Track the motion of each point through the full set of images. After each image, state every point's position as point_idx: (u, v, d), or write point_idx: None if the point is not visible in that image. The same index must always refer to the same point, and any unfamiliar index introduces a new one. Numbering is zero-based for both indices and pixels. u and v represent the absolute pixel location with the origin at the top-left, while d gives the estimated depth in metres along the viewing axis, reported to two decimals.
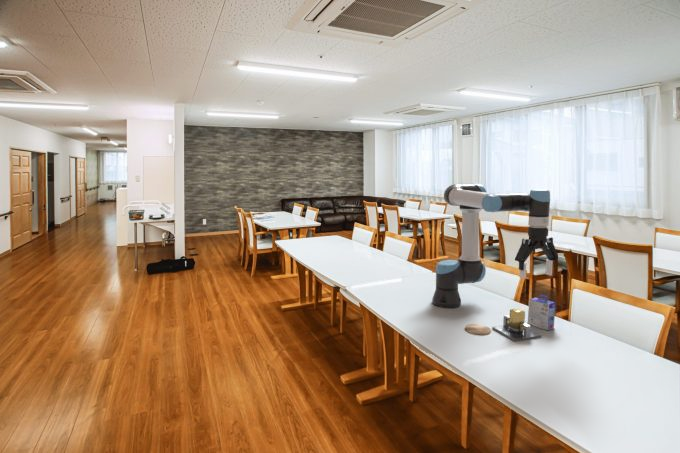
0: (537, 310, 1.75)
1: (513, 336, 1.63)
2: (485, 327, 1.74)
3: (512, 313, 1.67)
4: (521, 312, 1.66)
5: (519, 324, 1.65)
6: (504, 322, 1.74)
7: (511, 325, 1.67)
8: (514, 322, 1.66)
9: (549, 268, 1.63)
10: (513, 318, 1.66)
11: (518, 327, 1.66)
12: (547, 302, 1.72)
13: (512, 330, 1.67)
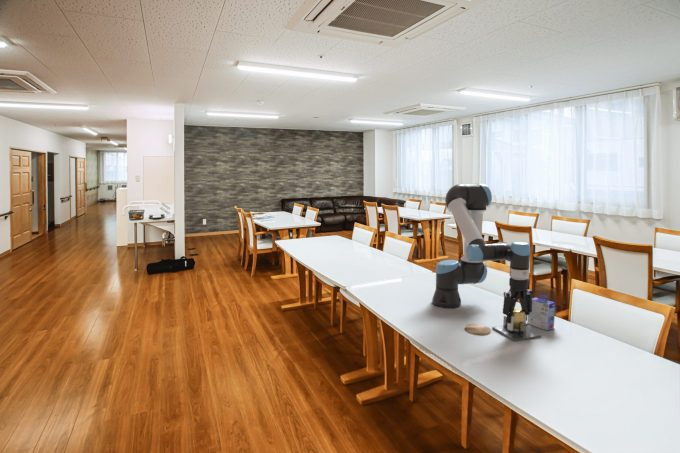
0: (537, 310, 1.75)
1: (513, 336, 1.63)
2: (485, 327, 1.74)
3: None
4: (521, 312, 1.66)
5: (519, 324, 1.65)
6: (504, 322, 1.74)
7: None
8: (514, 322, 1.66)
9: None
10: None
11: (518, 327, 1.66)
12: (547, 302, 1.72)
13: None
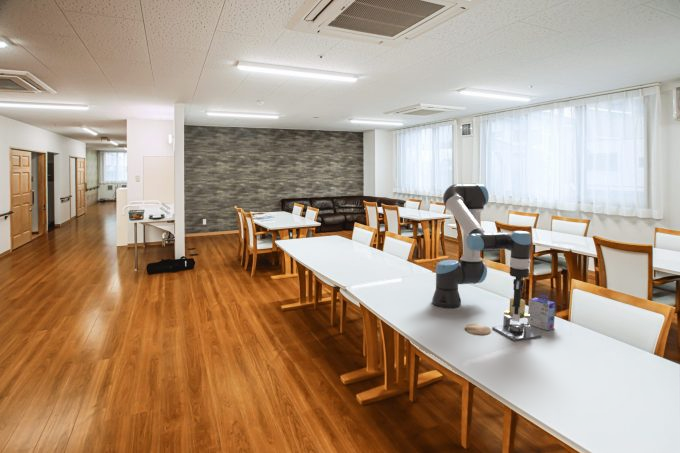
0: (537, 310, 1.75)
1: (513, 336, 1.63)
2: (485, 327, 1.74)
3: None
4: (522, 300, 1.67)
5: (523, 313, 1.66)
6: (504, 322, 1.74)
7: None
8: (520, 312, 1.65)
9: None
10: None
11: (523, 316, 1.66)
12: (547, 302, 1.72)
13: (512, 330, 1.67)
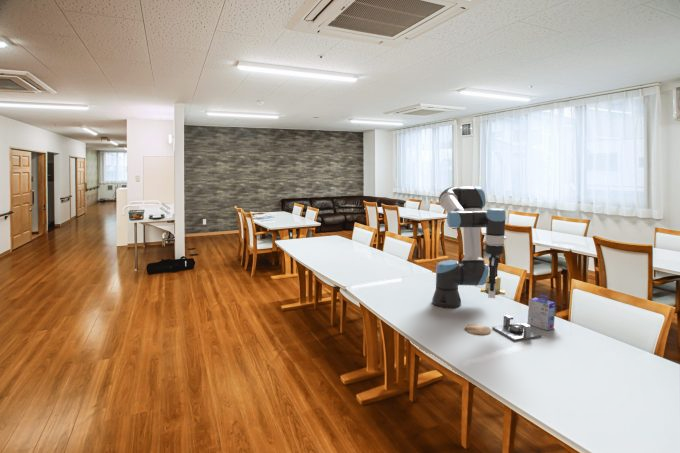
0: (537, 310, 1.75)
1: (513, 336, 1.63)
2: (485, 327, 1.74)
3: None
4: (498, 277, 1.68)
5: (499, 289, 1.67)
6: (504, 322, 1.74)
7: None
8: None
9: None
10: None
11: (498, 293, 1.67)
12: (547, 302, 1.72)
13: (512, 330, 1.67)
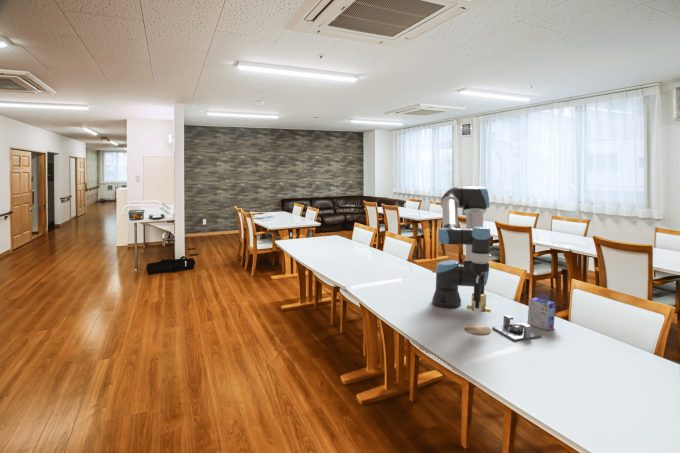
0: (537, 310, 1.75)
1: (513, 336, 1.63)
2: (485, 327, 1.74)
3: None
4: (483, 295, 1.70)
5: (484, 307, 1.69)
6: (504, 322, 1.74)
7: None
8: (481, 306, 1.68)
9: None
10: None
11: (484, 310, 1.69)
12: (547, 302, 1.72)
13: (512, 330, 1.67)
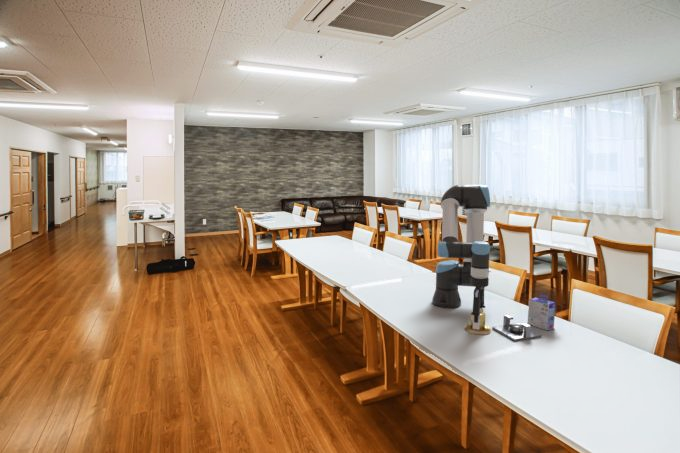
0: (537, 310, 1.75)
1: (513, 336, 1.63)
2: None
3: None
4: (483, 314, 1.71)
5: (484, 326, 1.70)
6: (504, 322, 1.74)
7: (477, 329, 1.70)
8: (480, 325, 1.70)
9: None
10: None
11: (483, 329, 1.70)
12: (547, 302, 1.72)
13: (512, 330, 1.67)
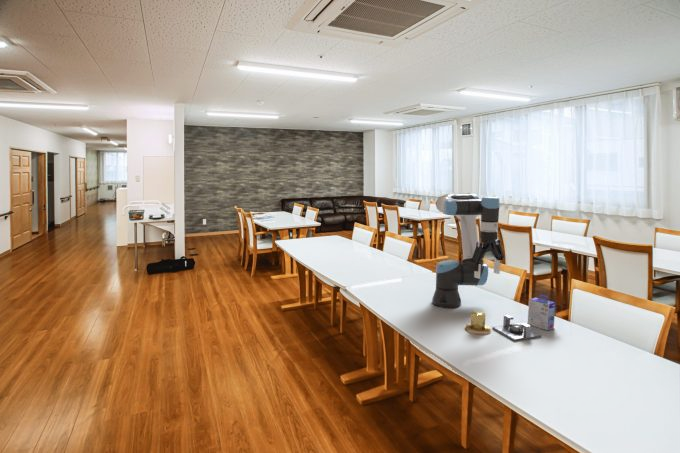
0: (537, 310, 1.75)
1: (513, 336, 1.63)
2: None
3: (478, 317, 1.69)
4: (483, 314, 1.71)
5: (484, 326, 1.70)
6: (504, 322, 1.74)
7: (477, 329, 1.70)
8: (480, 325, 1.70)
9: (497, 267, 1.81)
10: (479, 321, 1.69)
11: (483, 329, 1.70)
12: (547, 302, 1.72)
13: (512, 330, 1.67)
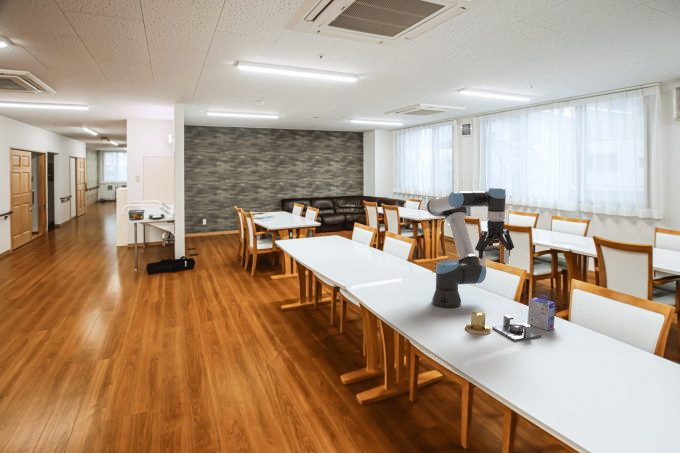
0: (537, 310, 1.75)
1: (513, 336, 1.63)
2: None
3: (478, 317, 1.69)
4: (483, 314, 1.71)
5: (484, 326, 1.70)
6: (504, 322, 1.74)
7: (477, 329, 1.70)
8: (480, 325, 1.70)
9: (506, 257, 1.85)
10: (479, 321, 1.69)
11: (483, 329, 1.70)
12: (547, 302, 1.72)
13: (512, 330, 1.67)
